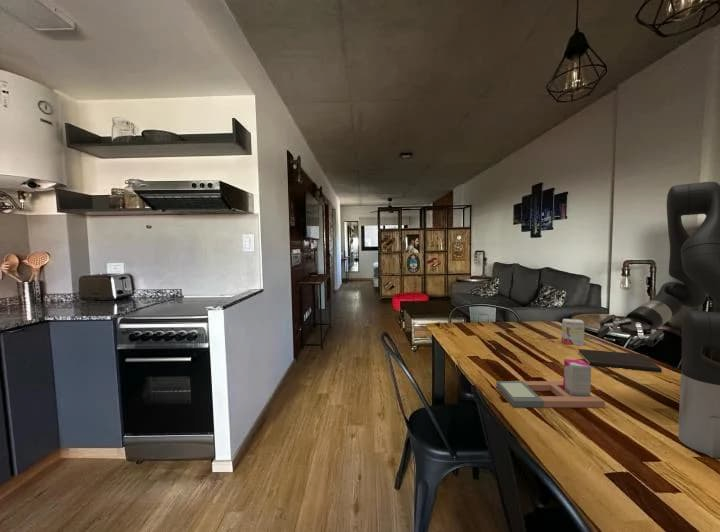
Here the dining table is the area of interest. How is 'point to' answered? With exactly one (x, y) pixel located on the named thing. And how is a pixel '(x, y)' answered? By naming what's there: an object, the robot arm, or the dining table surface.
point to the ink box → (573, 332)
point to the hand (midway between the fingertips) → (613, 340)
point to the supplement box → (577, 378)
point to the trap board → (526, 397)
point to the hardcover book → (619, 360)
